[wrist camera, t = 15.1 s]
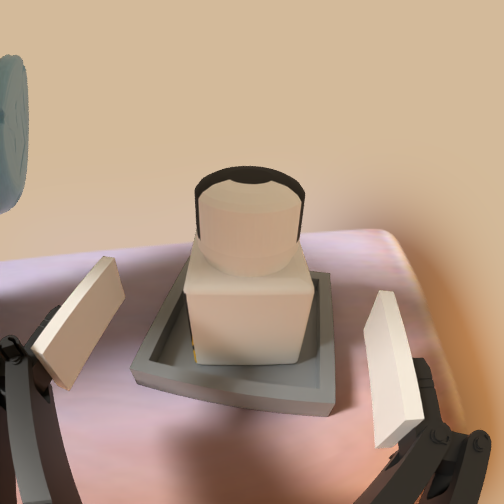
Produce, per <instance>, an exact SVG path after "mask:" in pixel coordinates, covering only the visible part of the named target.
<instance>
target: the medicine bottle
mask: <svg viewBox="0 0 504 504" xmlns="http://www.w3.org/2000/svg"><path fill="white" fill-rule="evenodd" d="M304 200H305V192H304V190H303V188H302V187H301V185H300V184H299V182H297V181H296V180H295V179H293V178H292V177H290V176H288V175H286V174H284V173H282V172H279V171H277V170H273V169H269V168H264V167H256V166H238V167H230V168H225V169H222V170H219V171H217V172H214V173H212V174H209V175H207V176H206V177H204V178H203V179H202V180H201V181H200V182H199V184H198V185H197V186H196V188H195V208H196V225H197V229H196V234H195V238H194V242H193V247H192V251H191V256H190V261H189V265H188V270H187V275H186V279H185V284H184V289H183V291H184V298H185V304H186V311H187V317H188V323H189V330H190V335H191V341H192V347H193V352H194V358H195V362H196V363H197V364H199V365H277V364H294V363H296V362H297V361H298V358H299V354H300V350H301V346H302V342H303V338H304V334H305V330H306V326H307V322H308V317H309V313H310V309H311V304H312V300H313V295H314V285H313V282H312V279H311V276H310V272H309V269H308V266H307V263H306V260H305V257H304V254H303V251H302V247H301V244H300V241H299V239H300V231H301V223H302V216H303V208H304Z"/></svg>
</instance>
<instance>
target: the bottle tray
mask: <svg viewBox="0 0 504 504" xmlns="http://www.w3.org/2000/svg"><path fill="white" fill-rule="evenodd" d="M189 261H190V256H189V258H188V260H187V262H186V263H185V265H184V267H183V269H182V270H181V272H180V274H179V276H178V278H177V279H176V281H175V283H174V285H173V287H172V288H171V290H170V292H169V294H168V296H167V297H166V299H165V301H164V303H163V305H162V307H161V309H160V310H159V312H158V314H157V316H156V318H155V320H154V322H153V324H152V325H151V327H150V329H149V331H148V333H147V335H146V337H145V339H144V341H143V343H142V345H141V347H140V349H139V351H138V353H137V355H136V357H135V359H134V360H133V362H132V364H131V366H130V370H131V372H132V374H133V376H134V378H135V380H136V382H137V384H139V385H143V386H146V387H150V388H153V389H157V390H160V391H164V392H168V393H172V394H176V395H180V396H184V397H189V398H193V399H198V400H202V401H207V402H212V403H217V404H223V405H228V406H234V407H240V408H246V409H253V410H260V411H267V412H276V413H285V414H295V415H306V416H321V417H328V415H329V414H330V412H331V410H332V408H333V407H334V405H335V352H334V329H333V311H332V296H331V282H330V273H323V272H314V271H309V272H310V276H311V279H312V282H313V285H314V295H313V300H312V304H311V309H310V313H309V317H308V322H307V326H306V330H305V334H304V338H303V342H302V346H301V350H300V354H299V358H298V361H297V362H296V363H294V364H277V365H199V364H197V363H196V362H195V358H194V352H193V347H192V341H191V335H190V330H189V323H188V317H187V311H186V304H185V298H184V291H183V289H184V284H185V279H186V275H187V270H188V265H189Z"/></svg>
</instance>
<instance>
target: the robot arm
mask: <svg viewBox="0 0 504 504" xmlns="http://www.w3.org/2000/svg"><path fill="white" fill-rule="evenodd" d="M28 125H29V112H28V86H27V76H26V69H25V66H24V65H23V60H22V59H21V57H19V56H17V55H13V56H11V55H5V56H3V57H2V58H0V214H2V213H5V212H7V211H9V210H10V209H11V208H12V207H14V206H15V205H16V203H17V202H18V200H19V198H20V197H21V195H22V192H23V189H24V185H25V179H26V172H27V160H28V134H29V132H28V131H29V127H28ZM125 298H126V297H125V294H124V291H123V287H122V284H121V280H120V277H119V273H118V269H117V265H116V262H115V258H112V257H105V256H103V257H102V258H101V259H100V260H99V261H98V263H97V264H96V265H95V266H94V267H93V268H92V270H91V271H90V272H89V273H88V274H87V275H86V277H85V278H84V279H83V280H82V281H81V283H80V284H79V285H78V286H77V287H76V289H75V290H74V291H73V292H72V294H71V295H70V296H69V297H68V299H67V300H66V301H65V302H64V304H63V305H62V306H60V305H58V306H57V307H55V308H54V309H52V310H51V311H50V312H49V313H48V315H47V316H46V317H45V320H43V321H42V323H41V324H40V326H39V327H38V328H37V329H36V331H35V332H34V333H33V335H32V336H31V337H30V339H29V340H28V342H27V343H26V344H25V346H24V347H23V346H22V344H21V343H20V341H19V340H18V338H17V337H16V336H14V335H8V336H6V337H4V338H3V339H2V340H1V341H0V504H17V498H16V478H17V483H18V487H19V491H20V495H21V499H22V502H23V504H82V502H81V499H80V496H79V494H78V491H77V488H76V485H75V482H74V479H73V476H72V473H71V470H70V466H69V463H68V460H67V456H66V452H65V449H64V445H63V441H62V437H61V432H60V428H59V423H58V419H57V414H56V408H55V403H54V397H53V391H52V386H51V384H50V382H51V380H52V379H53V380H54V382H55V383H56V384H57V385H58V386H59V387H62V388H64V389H66V390H68V391H70V389H71V387H72V385H73V384H74V382H75V380H76V378H77V377H78V375H79V373H80V371H81V369H82V368H83V366H84V364H85V363H86V361H87V359H88V357H89V356H90V354H91V352H92V351H93V349H94V347H95V346H96V344H97V342H98V341H99V339H100V337H101V336H102V334H103V332H104V331H105V329H106V328H107V326H108V324H109V323H110V321H111V320H112V318H113V316H114V315H115V313H116V312H117V310H118V309H119V307H120V306H121V304H122V302H123V301H124V299H125ZM363 332H364V338H365V345H366V353H367V360H368V369H369V377H370V387H371V397H372V408H373V421H374V438H375V448H390V447H393V446H394V445H396V444H397V443H398V446H399V450H398V451H396V452H395V453H394V454H392V455H391V456H390V457H389V459H391V460H390V461H389V462H388V464H387V465H386V466H385V468H384V469H383V470H382V471H381V473H380V474H379V475H378V476H377V477H376V479H375V480H374V481H373V482H372V483H371V484H370V486H369V487H368V488H367V489H366V490H365V491H364V492H363V494H362V495H361V496H360V497H359V498H358V499H357V500H356V501H355V502H354V503H353V504H414V502H415V501H416V500H417V498H418V497H419V495H420V494H421V492H422V491H423V489H424V488H425V489H424V492H423V494H422V497H421V499H420V501H419V504H477V503H478V500H479V497H480V493H481V490H482V486H483V482H484V479H485V474H486V470H487V465H488V460H489V456H490V451H491V439H490V436H489V435H488V434H487V433H486V432H485V431H483V430H476V431H474V432H472V433H471V434H470V435H466V434H461V433H457V432H453V431H451V430H450V427H449V426H448V425H447V424H446V423H443V421H442V419H441V415H440V410H439V405H438V400H437V395H436V391H435V389H434V382H433V380H432V374H431V370H430V367H429V366H428V364H427V363H426V361H425V360H424V358H412V355H411V351H410V347H409V343H408V340H407V336H406V332H405V328H404V325H403V321H402V318H401V314H400V311H399V308H398V304H397V301H396V298H395V294H394V292H393V291H382V290H379V292H378V294H377V297H376V300H375V302H374V305H373V307H372V310H371V312H370V315H369V317H368V320H367V322H366V325H365V327H364V330H363ZM15 474H16V477H15ZM425 486H426V487H425Z"/></svg>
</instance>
